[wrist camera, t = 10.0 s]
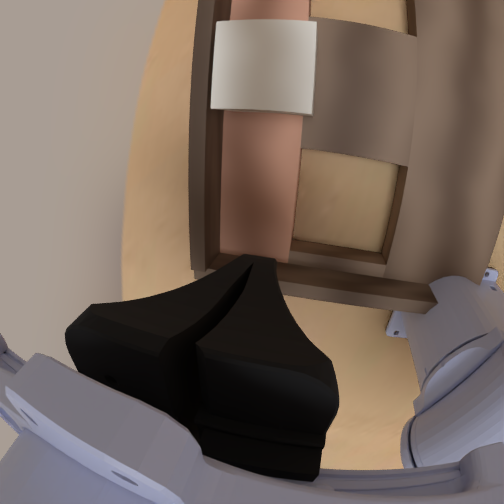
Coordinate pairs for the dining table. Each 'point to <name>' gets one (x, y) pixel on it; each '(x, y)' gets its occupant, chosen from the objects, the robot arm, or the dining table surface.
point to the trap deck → (360, 152)
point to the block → (265, 66)
